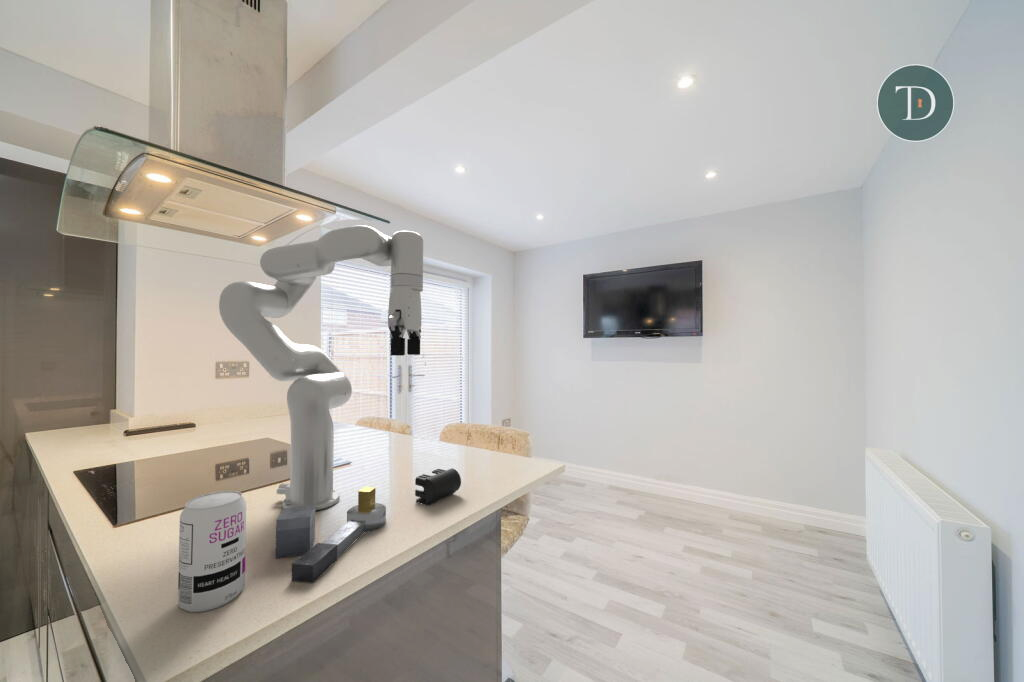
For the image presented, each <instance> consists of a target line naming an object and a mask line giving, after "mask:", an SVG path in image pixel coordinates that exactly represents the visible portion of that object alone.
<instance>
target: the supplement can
mask: <svg viewBox="0 0 1024 682" xmlns="http://www.w3.org/2000/svg"><path fill="white" fill-rule="evenodd" d="M178 537H179V539H178V540H179V541H178V578H177V579H178V581H177V583H178V584H177V586H178V588H177V605H178V607H179V608H180V609H183V610H184V611H186V612H189V613H202V612H206V611H207V612H208V611H211V610H214V609H217V608H220V607H222V606H224V605H226V604H227V603H230V602H231V601H233V600H234V599H235V598H236V597H238V595H239V594H240V593H241V592H242V590H243V589H244V588H245V586H246V551H247V550H246V549H247V548H246V545H247V544H246V541H247V538H246V537H247V500H245V498H244V497H243V492H240V491H237V490H222V491H216V492H215V491H214V492H211V493H206V494H202V495H199V496H196V497H193V498H192V499H189V500H188V501H186V502H185V506H184V508H183V510H182V511H181V513H180V515H179V535H178Z"/></svg>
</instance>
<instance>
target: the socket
mask: <svg viewBox="0 0 1024 682" xmlns="http://www.w3.org/2000/svg"><path fill="white" fill-rule="evenodd" d="M314 540H315V541H316V511H315V505H309V506H299V507H290V508H282V510H281V512H280V513H279V515H278V516H277V518H276V519H275V555H274V556H275V560H277V559H278V560H279V559H283V558H292V557H299V555H300V556H302V555H303V554H305V553H306V552H307V551H308V550H310V549H311V548H312V547H313V546H314V544H315V541H314Z"/></svg>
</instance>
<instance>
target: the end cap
mask: <svg viewBox="0 0 1024 682" xmlns="http://www.w3.org/2000/svg"><path fill="white" fill-rule="evenodd" d="M431 474H434V475H429V474H424V473H422V475H419V476H416V477H415V479H414V480H415V483H414V484H415V486H419V487H422V488H423V490H420V489H417V488H416V489H415V490H414V496H415V497H417V498H416V499H415V502H416V503H417V502H419V503H418V504H421V503H422V504H421V505H424V504H425V506H430V505H433V504H435V503H437V502H439V501H441V500H443V499H445V498H447V497H450V496H451V495H454V494H455V493H456V492H457V491H459V489H460V488H461V486H462V478H461V475H460V473H459V471H457V469H455V468H453V467H452V468H449V469H447V470H445V469H442V468H441V469H440V468H436V469H434V470H432V471H431Z"/></svg>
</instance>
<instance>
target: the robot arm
mask: <svg viewBox="0 0 1024 682" xmlns="http://www.w3.org/2000/svg"><path fill="white" fill-rule="evenodd" d="M355 259H362V260H364V261H367V262H370V264H373V265H376V266H378V267H390V293H389V299H388V310H387V311H388V313H387V328H388V329H389V332H390V335H389V337H390V356H396V357H397V356H405V355H406V354H407V355H409V356H410V355H411V356H420V355H421V339H422V337H421V336H422V335H421V333H422V330H421V329H422V300H421V299H422V297H421V292H423V290H424V239H423V237H422V235H421V234H419V232H415V231H410V230H399V231H396V232H394V233H393V234H392V235H391V236H388V235H386V234H384V233H382V232H381V231H379V230H377V229H376V228H374V227H372V226H370V225H369V226H368V225H352V226H345V227H341V228H340V227H338V228H335V229H332V230H330V231H328V232H326V233H325V234H323V235H322V236H320V237H319V238H318V239H317V240H312V241H307V242H300V243H294V244H287V245H282V246H277V247H276V246H275V247H271V248H270V249H267V250H266V251H264V252H263V253H262V255H261V256H260V259H259V264H260V265H259V266H260V268H261V270H262V271H263V273H264V274H265V275H266V276H267V277H268V278H271V279H272V280H275V281H276V282H275V283H274V285H268V284H264V283H258V282H254V281H244V280H243V281H241V280H240V281H236V282H235V281H234V282H231V283H229V284H227V286H225V287H224V288H223V290H222V291H221V293H220V295H219V301H218V309H219V315H220V317H221V320H222V322H223V324H224V325H225V327H226V328H227V330H228V331H229V332H230V333H231V334H232V335H233V336H234V337H235V338H236V339H237V340H238V341H239V342H240V343H241V344H242V345H243V346H244V347H245V348H246V349H247V350H248V351H249V352H250V354H251V355H252V356H253V358H255V360H256V361H257V362H258V363H259V364H260V365H261V367H262V368H264V370H265V371H266V372H267V373H268V374H269V375H270V377H272V378H274V380H276V381H279V382H292V383H291V384H290V385H289V387H288V389H287V393H286V404H287V408H288V413H289V420H290V421H289V422H290V459H289V460H290V463H289V464H290V467H289V471H290V472H289V483H285V482H283V483H280V484H279V486H278V488H277V489H276V494H277V495H285V499H284V500H282V503H281V504H282V505H281V506H282V509H283V508H290V507H299V506H309V505H315V512H317V511H320V510H323V509H326V508H329V507H332V506H333V505H335V504H337V502H339V500H340V495H341V494H340V492H339V491H337V490H336V489H335V490H334V451H335V450H334V448H335V447H334V446H335V445H334V444H335V442H334V441H335V440H334V439H335V434H334V433H335V429H334V422H333V419H332V416H331V412H330V410H332V409H336V408H338V407H341V406H344V405H345V404H346V403H348V401H349V400H350V398H351V396H352V394H353V393H352V392H353V389H352V383H351V381H350V380H349V378H348V377H347V375H346V374H345V373H344V371H342V370H341V369H340V368H339V367H338V365H336V363H335V362H334V361H333V360H332V359H331V358H330V357H329V356H328V354H326V353H325V352H324V351H323V350H322V349H321V348H319V347H317V346H315V345H312V344H308V343H307V344H306V343H295V342H293V341H291V340H290V339H289V338H288V337H287V336H286V335H285V334H284V333H283V332H282V331H281V329H280V328H279V327H278V326H276V325H275V324H274V323H272V322H271V321H270V320H268V319H266V318H271V319H279V318H283V317H285V316H287V315H288V314H289V313H291V312H292V311H293V309H294V308H295V307H296V306H297V305H298V303H299V302H300V301H301V299H302V298H303V297H304V296H305V295H306V293H307V292H308V290H309V289H310V288H311V287H312V285H313V284H314V282H315V280H316V278H317V277H320V276H327V275H329V274H332V273H333V271H334V270H335V266H336V263H338V262H343V261H348V260H355ZM405 333H407V335H408V338H407V340H406V337H404V335H405ZM406 341H407V342H406ZM406 343H407V344H406ZM406 345H407V346H406ZM406 347H407V348H406ZM406 349H407V350H406ZM406 352H407V353H406Z"/></svg>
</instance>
